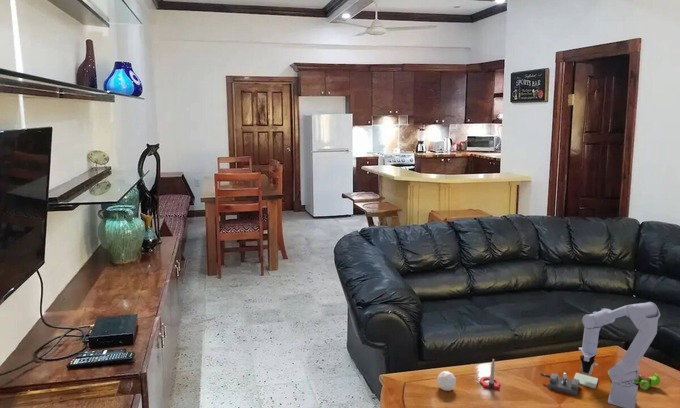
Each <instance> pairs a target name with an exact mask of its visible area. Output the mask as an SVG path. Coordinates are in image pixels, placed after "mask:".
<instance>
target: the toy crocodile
mask: <svg viewBox="0 0 680 408" xmlns="http://www.w3.org/2000/svg"><path fill="white" fill-rule="evenodd" d="M607 374H608V377H609V378H610V376H609V370H607ZM660 382H661V378H660V376H659V375H658V373H656V372H655V373H654V375H653V376H649V375H647V374H645V373H643V372H641V373H639V371H638V378H637V379H635V380H634V383H633V384H635V385H638V386H639V388H640V389H641V390H646V391H647V390H648V389H650V387H651V386H652V387H655V386H658V385H660Z"/></svg>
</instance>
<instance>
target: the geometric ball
mask: <svg viewBox="0 0 680 408" xmlns="http://www.w3.org/2000/svg"><path fill="white" fill-rule="evenodd" d="M456 379H457V378H456V376H455V375H454V374H453V372H451V371H449V370H443V371H441V372H440V373H439V374H438V376H437V378H436V382H437V383H436V384H437V386H438V387H439V388H440V389H441V390H443V391H445V392H450V391H451V390H453V389H455V386H456V384H457V380H456Z"/></svg>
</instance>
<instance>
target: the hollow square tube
mask: <svg viewBox="0 0 680 408" xmlns="http://www.w3.org/2000/svg"><path fill="white" fill-rule="evenodd" d="M593 367H599V363H596V362H594V363H593V364H592V365H591V368H590V371H589V373H585V372H583V366H582V362H581V365H580V372H579V373H580V374H583V375H587V376H592V373H593V369H594V368H593Z"/></svg>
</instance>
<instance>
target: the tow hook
mask: <svg viewBox="0 0 680 408" xmlns="http://www.w3.org/2000/svg"><path fill="white" fill-rule="evenodd" d="M495 366H496V364H495V359H494V358H492V361H491V369H490V376H483V377H480V379H479V383H480V384H481V385H482V388H484V389H489V390H500V389H501V388H500V387H501V382H500V380H498V379H497V378H495V377H494V374H495ZM485 381H488V383H486V382H485Z"/></svg>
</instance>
